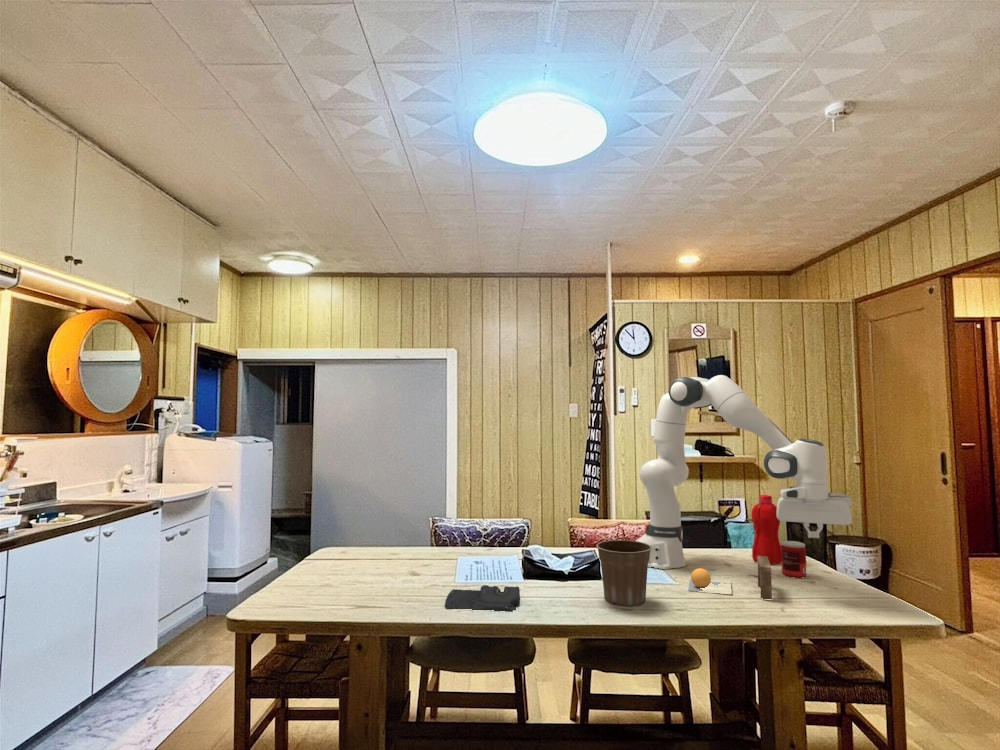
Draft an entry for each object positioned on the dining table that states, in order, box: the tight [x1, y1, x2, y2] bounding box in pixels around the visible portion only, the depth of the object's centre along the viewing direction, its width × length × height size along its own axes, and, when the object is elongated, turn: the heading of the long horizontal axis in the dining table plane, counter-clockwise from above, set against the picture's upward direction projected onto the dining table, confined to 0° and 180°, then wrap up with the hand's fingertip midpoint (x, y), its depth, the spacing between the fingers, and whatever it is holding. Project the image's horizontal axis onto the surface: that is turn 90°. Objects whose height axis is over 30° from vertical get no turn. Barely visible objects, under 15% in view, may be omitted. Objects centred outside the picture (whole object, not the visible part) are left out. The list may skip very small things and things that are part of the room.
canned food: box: [780, 540, 807, 579], centre depth 203 cm, size 8×8×11 cm
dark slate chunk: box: [444, 584, 521, 613], centre depth 173 cm, size 15×22×5 cm
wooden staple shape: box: [757, 556, 773, 600], centre depth 183 cm, size 3×15×10 cm, turn 159°
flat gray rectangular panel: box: [687, 579, 732, 592], centre depth 188 cm, size 13×13×1 cm
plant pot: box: [596, 539, 652, 607], centre depth 176 cm, size 16×16×16 cm
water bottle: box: [751, 494, 782, 566], centre depth 222 cm, size 9×11×25 cm
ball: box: [690, 567, 712, 588], centre depth 188 cm, size 6×6×6 cm
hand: (813, 537), depth 179 cm, fingers closed
